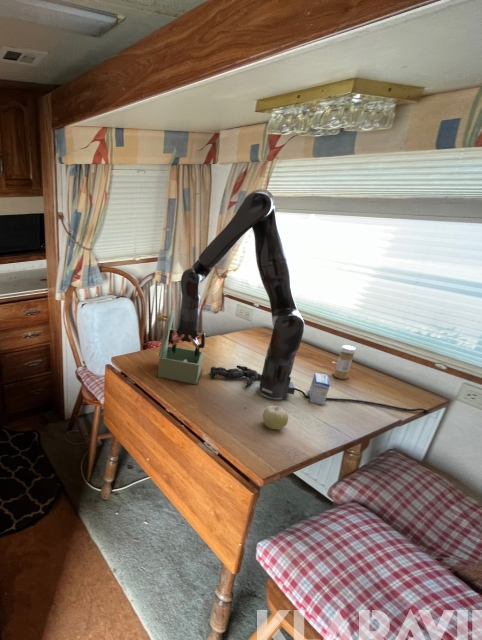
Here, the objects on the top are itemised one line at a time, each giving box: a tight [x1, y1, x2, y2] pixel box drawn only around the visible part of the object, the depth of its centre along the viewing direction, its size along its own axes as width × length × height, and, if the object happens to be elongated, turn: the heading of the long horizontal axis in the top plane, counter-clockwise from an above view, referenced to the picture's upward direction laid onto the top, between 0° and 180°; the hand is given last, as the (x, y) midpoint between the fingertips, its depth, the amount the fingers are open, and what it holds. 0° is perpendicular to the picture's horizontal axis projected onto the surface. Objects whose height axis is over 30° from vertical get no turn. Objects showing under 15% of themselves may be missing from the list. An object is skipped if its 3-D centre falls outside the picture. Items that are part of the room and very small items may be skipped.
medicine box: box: [308, 372, 331, 405], centre depth 131 cm, size 8×4×9 cm, turn 152°
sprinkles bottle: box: [333, 344, 356, 380], centre depth 145 cm, size 5×5×13 cm
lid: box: [156, 309, 176, 358], centre depth 148 cm, size 16×14×5 cm
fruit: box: [262, 405, 289, 430], centre depth 116 cm, size 8×7×8 cm
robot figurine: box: [210, 365, 262, 389], centre depth 146 cm, size 18×4×20 cm
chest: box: [157, 345, 204, 385], centre depth 150 cm, size 16×14×9 cm
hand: (185, 354), depth 148 cm, fingers open, 8 cm apart
